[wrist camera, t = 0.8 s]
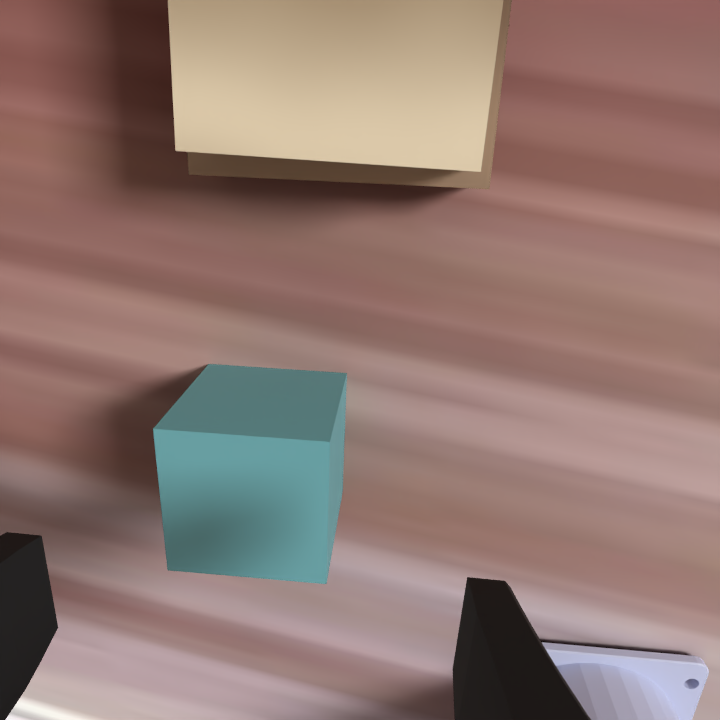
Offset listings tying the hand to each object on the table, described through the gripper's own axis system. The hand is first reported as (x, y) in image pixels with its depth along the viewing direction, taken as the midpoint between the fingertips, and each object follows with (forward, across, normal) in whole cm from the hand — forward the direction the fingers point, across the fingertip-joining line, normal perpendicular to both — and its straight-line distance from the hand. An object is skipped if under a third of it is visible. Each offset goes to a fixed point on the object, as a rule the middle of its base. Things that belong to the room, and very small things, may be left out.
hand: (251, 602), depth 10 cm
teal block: (+10, +2, +2) cm, 10 cm away
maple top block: (+7, 0, -10) cm, 13 cm away
